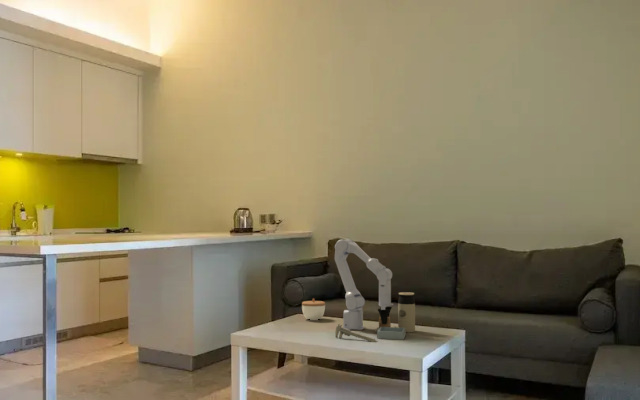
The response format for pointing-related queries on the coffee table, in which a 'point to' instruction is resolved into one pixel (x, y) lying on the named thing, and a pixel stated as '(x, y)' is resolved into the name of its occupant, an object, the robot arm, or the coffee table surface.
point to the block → (385, 324)
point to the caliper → (349, 332)
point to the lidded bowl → (313, 309)
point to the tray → (391, 333)
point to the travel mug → (406, 311)
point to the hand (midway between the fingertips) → (384, 322)
